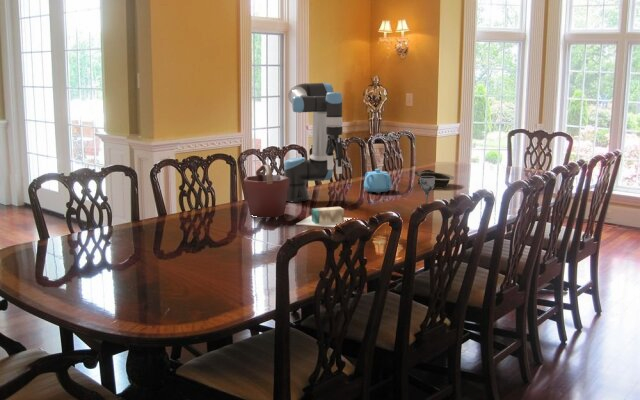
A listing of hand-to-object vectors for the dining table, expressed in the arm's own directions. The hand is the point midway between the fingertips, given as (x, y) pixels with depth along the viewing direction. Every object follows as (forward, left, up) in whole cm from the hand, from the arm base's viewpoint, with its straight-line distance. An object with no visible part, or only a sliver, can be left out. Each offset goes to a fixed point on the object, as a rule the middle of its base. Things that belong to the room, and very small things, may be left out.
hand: (334, 171), depth 321 cm
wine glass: (+33, +52, -24) cm, 66 cm away
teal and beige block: (+3, +2, -21) cm, 21 cm away
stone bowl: (+25, +112, -24) cm, 117 cm away
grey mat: (-3, -2, -24) cm, 24 cm away
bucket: (-37, +4, -24) cm, 44 cm away
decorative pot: (-3, +83, -24) cm, 86 cm away
